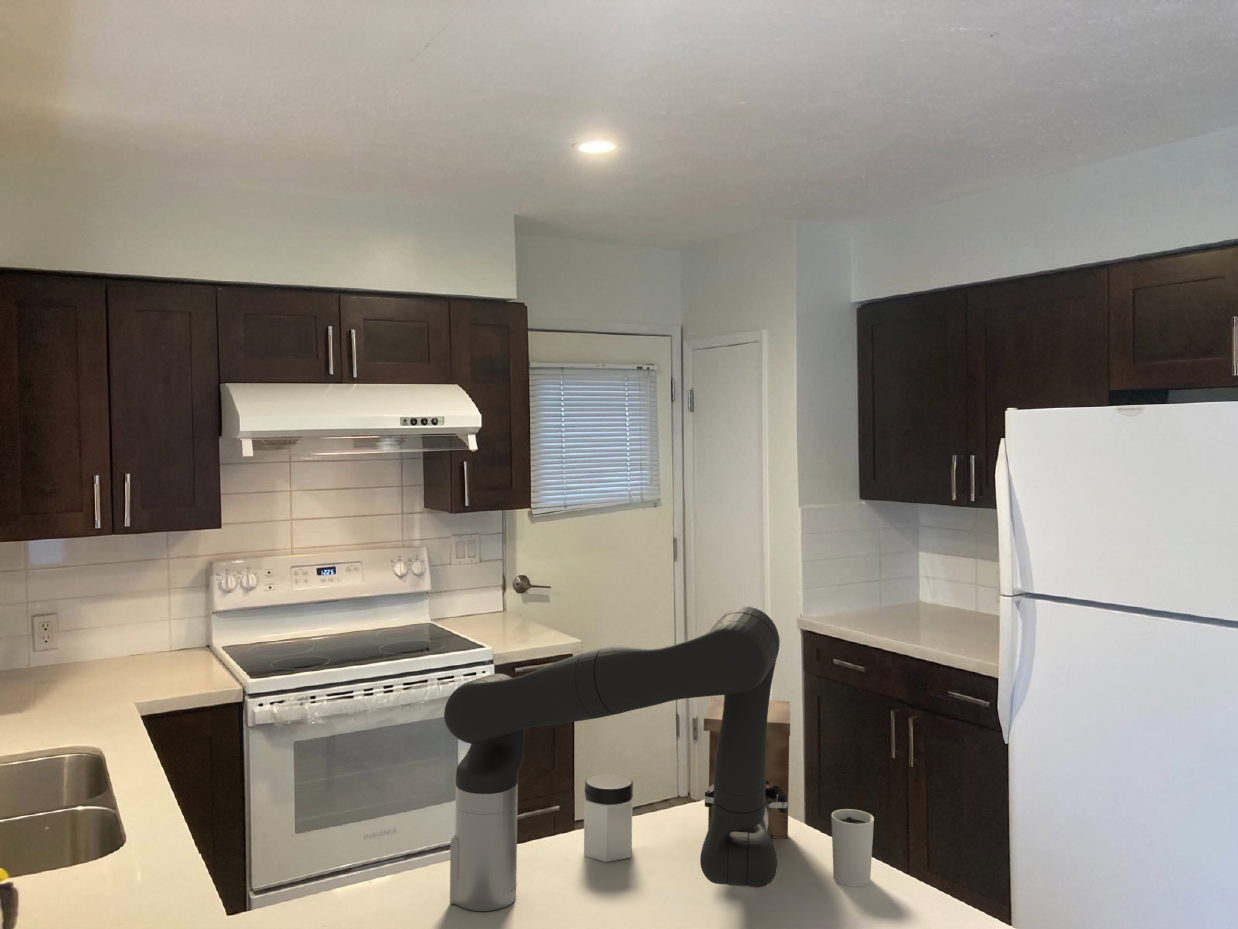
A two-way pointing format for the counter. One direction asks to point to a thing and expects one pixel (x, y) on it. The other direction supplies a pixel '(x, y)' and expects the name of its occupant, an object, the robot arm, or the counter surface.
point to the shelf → (774, 755)
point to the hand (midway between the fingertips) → (748, 783)
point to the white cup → (852, 847)
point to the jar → (608, 817)
